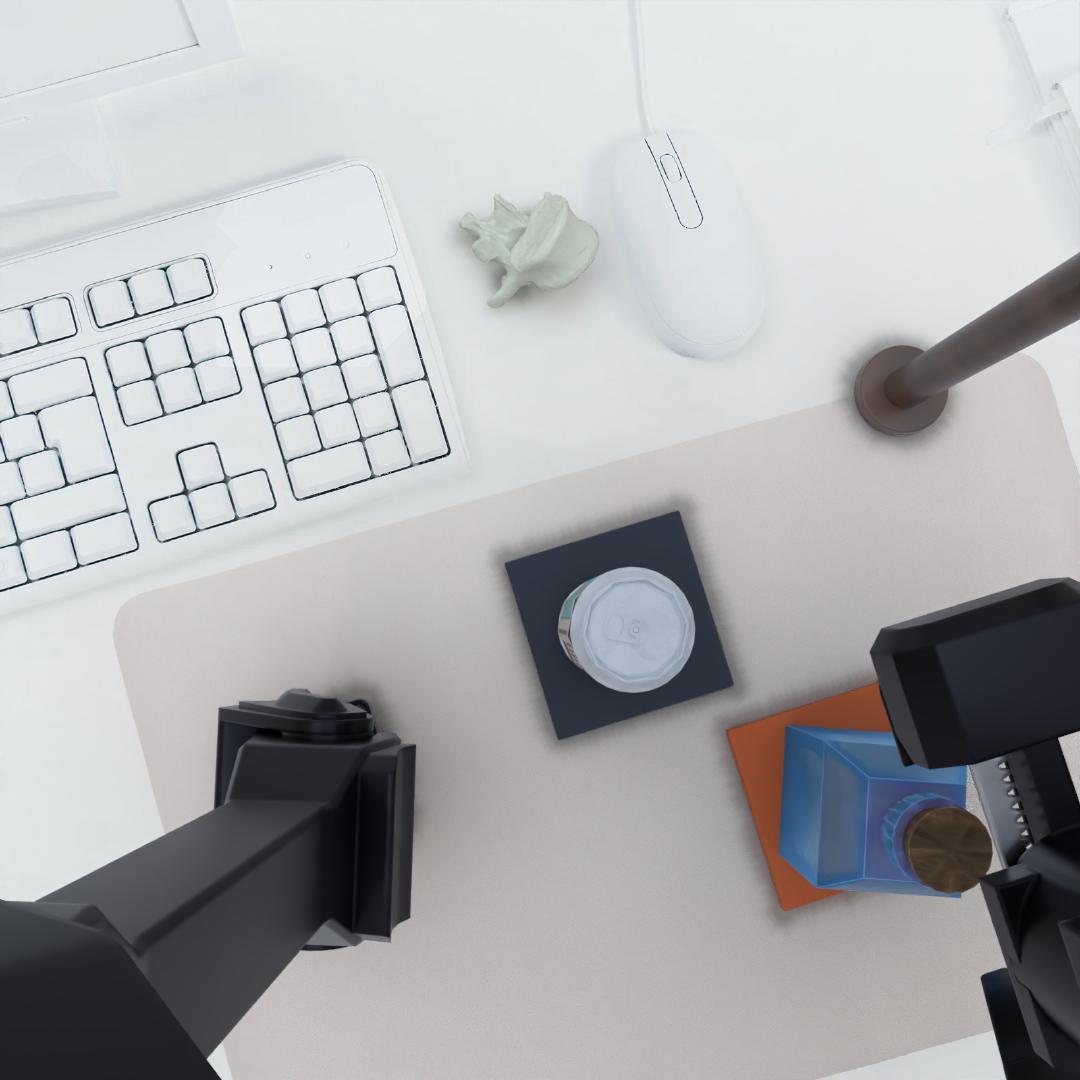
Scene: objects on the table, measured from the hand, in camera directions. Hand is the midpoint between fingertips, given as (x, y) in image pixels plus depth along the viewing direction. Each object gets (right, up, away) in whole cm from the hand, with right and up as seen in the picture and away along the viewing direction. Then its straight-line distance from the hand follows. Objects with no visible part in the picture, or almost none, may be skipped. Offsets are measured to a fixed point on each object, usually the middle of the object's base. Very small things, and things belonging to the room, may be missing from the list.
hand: (954, 851), depth 37 cm
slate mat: (-11, +7, +13) cm, 19 cm away
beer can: (-12, +7, +13) cm, 19 cm away
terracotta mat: (0, -1, +13) cm, 13 cm away
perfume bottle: (0, -1, +13) cm, 13 cm away
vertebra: (-17, +26, +11) cm, 33 cm away
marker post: (+3, +19, +15) cm, 24 cm away
